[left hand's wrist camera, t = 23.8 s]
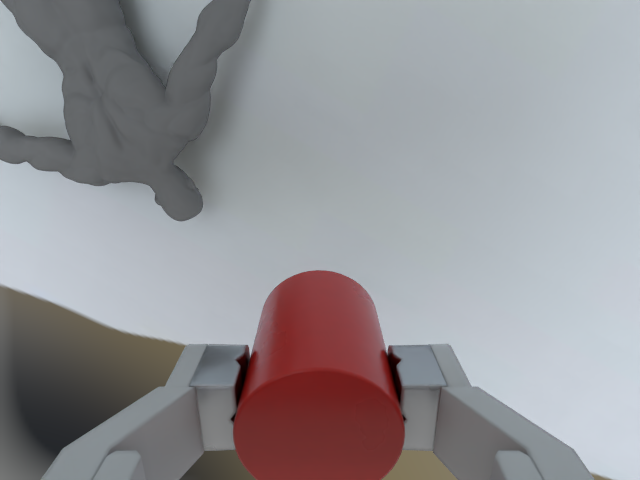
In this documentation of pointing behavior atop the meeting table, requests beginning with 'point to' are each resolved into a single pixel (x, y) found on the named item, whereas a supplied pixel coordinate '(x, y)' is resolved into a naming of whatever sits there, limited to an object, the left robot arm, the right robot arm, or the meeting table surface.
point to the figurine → (122, 97)
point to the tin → (319, 386)
